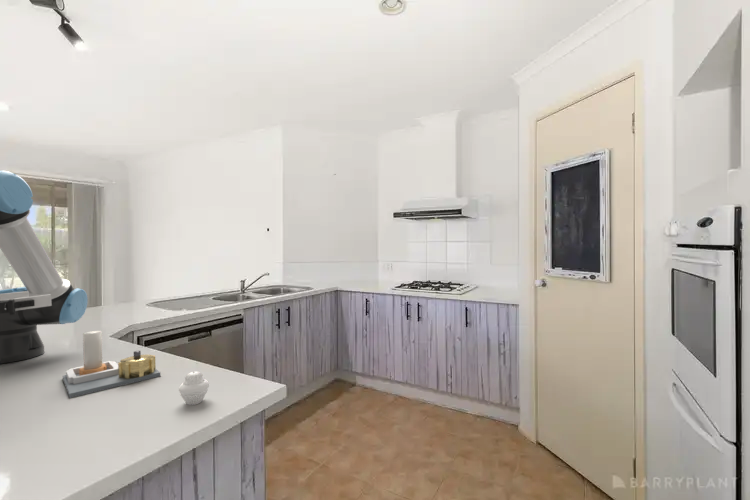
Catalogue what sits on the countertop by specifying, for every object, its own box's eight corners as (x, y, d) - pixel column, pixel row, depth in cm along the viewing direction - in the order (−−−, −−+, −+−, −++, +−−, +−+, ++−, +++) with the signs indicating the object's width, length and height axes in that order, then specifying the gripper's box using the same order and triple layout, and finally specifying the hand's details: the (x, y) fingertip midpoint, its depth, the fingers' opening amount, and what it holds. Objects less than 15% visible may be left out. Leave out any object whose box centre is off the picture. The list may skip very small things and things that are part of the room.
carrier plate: (62, 379, 97) (62, 370, 97) (143, 362, 110) (143, 354, 110) (69, 397, 84) (69, 387, 84) (160, 375, 98) (160, 366, 98)
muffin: (173, 408, 78) (172, 376, 77) (189, 396, 84) (188, 366, 84) (200, 408, 77) (199, 376, 77) (214, 396, 83) (213, 366, 83)
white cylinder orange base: (78, 374, 97) (77, 332, 97) (104, 369, 101) (103, 329, 101) (81, 379, 93) (80, 336, 93) (108, 374, 97) (107, 332, 97)
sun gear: (115, 373, 97) (115, 352, 97) (151, 366, 103) (150, 345, 103) (122, 381, 91) (121, 358, 91) (159, 372, 97) (158, 351, 97)
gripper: (-113, 326, 77) (21, 308, 95) (-86, 341, 64) (61, 317, 83) (-115, 292, 76) (19, 281, 95) (-88, 300, 64) (60, 285, 83)
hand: (39, 298), depth 89 cm, fingers open, 13 cm apart
